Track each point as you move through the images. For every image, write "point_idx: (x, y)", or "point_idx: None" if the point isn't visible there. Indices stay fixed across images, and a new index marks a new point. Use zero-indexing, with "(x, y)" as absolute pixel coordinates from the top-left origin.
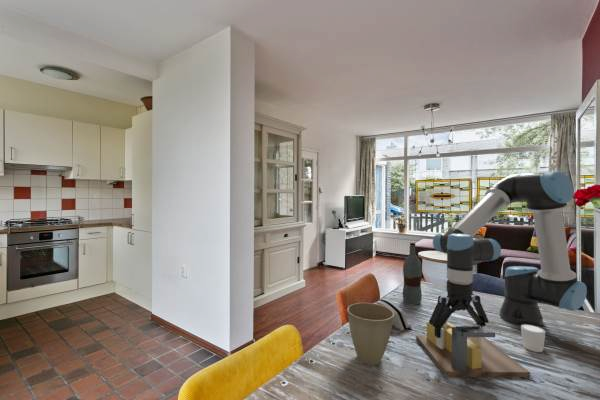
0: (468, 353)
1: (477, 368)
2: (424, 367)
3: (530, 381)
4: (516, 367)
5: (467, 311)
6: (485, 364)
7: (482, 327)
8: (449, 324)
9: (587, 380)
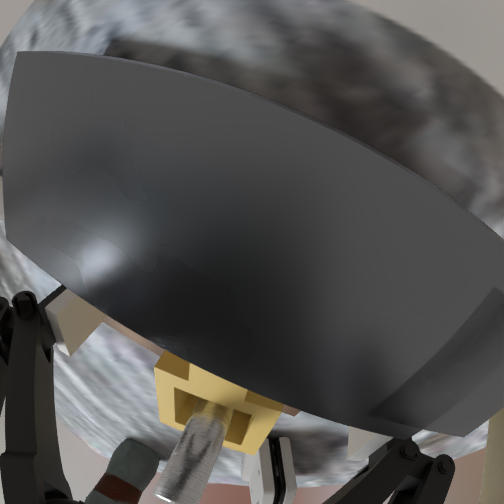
0: None
1: None
2: None
3: (123, 32)
4: None
5: (58, 444)
6: None
7: (47, 247)
8: (166, 405)
9: (11, 39)
